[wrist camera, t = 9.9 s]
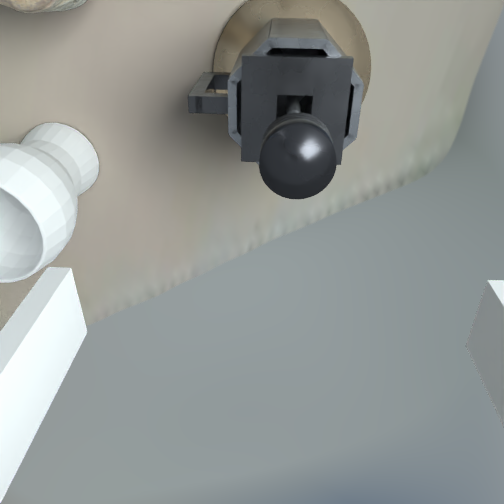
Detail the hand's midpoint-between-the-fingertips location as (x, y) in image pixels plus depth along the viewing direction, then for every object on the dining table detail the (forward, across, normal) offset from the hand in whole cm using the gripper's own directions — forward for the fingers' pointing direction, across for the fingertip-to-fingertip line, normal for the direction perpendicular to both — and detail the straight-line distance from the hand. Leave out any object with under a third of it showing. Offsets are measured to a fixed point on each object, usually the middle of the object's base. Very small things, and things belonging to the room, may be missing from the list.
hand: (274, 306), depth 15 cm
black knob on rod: (+30, +1, 0) cm, 30 cm away
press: (+33, +1, 0) cm, 33 cm away
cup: (+33, -22, -8) cm, 41 cm away
